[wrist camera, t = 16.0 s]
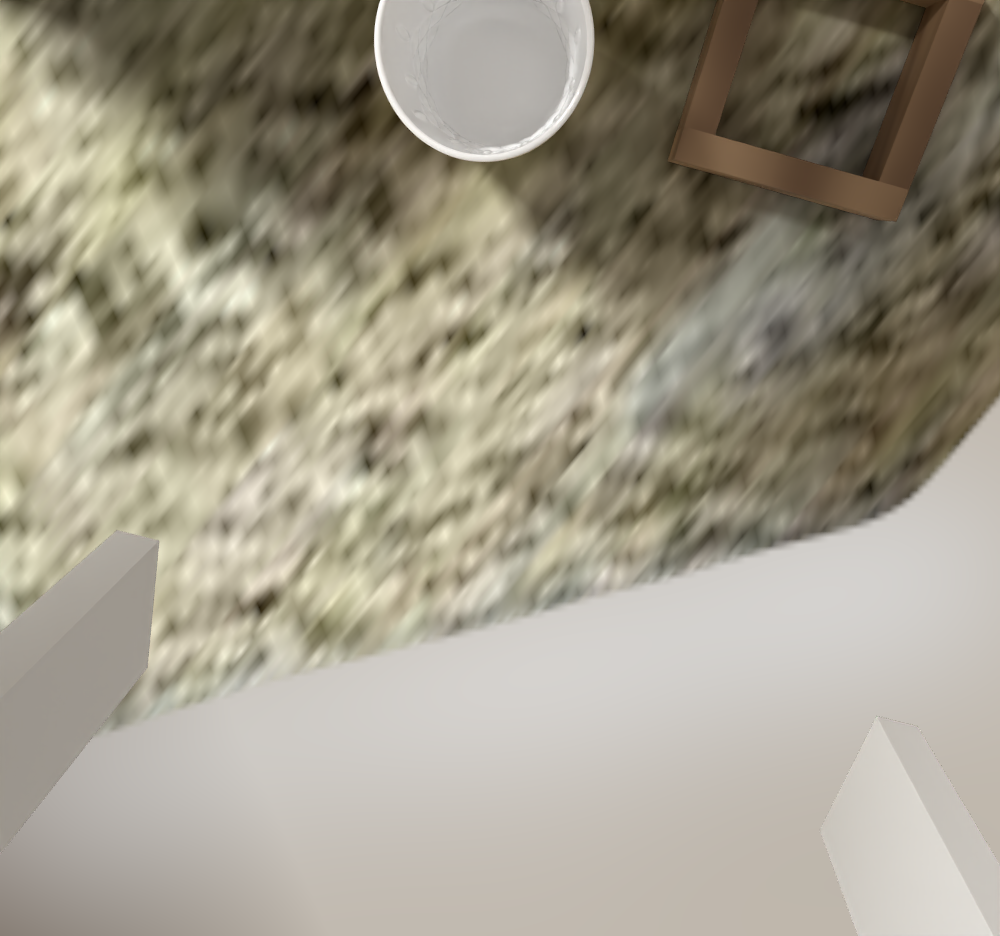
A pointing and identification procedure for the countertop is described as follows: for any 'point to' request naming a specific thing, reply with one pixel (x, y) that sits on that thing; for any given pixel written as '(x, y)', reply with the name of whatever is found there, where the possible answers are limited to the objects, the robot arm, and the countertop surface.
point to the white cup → (484, 71)
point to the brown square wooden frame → (872, 195)
